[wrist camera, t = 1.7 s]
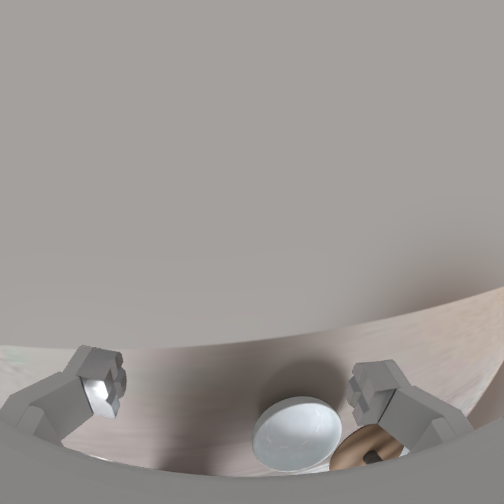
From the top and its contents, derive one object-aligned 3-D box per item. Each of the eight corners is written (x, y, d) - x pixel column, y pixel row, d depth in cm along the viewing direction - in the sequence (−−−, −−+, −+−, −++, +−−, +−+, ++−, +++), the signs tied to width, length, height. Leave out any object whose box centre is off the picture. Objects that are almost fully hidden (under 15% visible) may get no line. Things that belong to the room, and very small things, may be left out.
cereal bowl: (297, 461, 52) (305, 481, 45) (232, 435, 51) (234, 455, 44) (346, 405, 53) (360, 421, 46) (282, 372, 52) (290, 388, 45)
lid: (415, 439, 56) (426, 450, 50) (357, 490, 54) (366, 503, 48) (378, 406, 54) (390, 419, 48) (311, 465, 53) (318, 481, 47)
